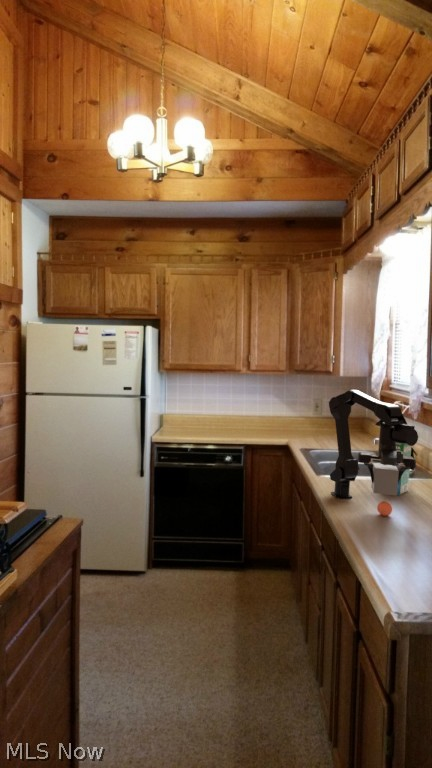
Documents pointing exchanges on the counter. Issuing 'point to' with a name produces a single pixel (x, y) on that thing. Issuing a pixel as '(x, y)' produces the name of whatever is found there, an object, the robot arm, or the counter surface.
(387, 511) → the ball
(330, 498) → the counter surface
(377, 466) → the grey rectangular box
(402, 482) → the milk carton
